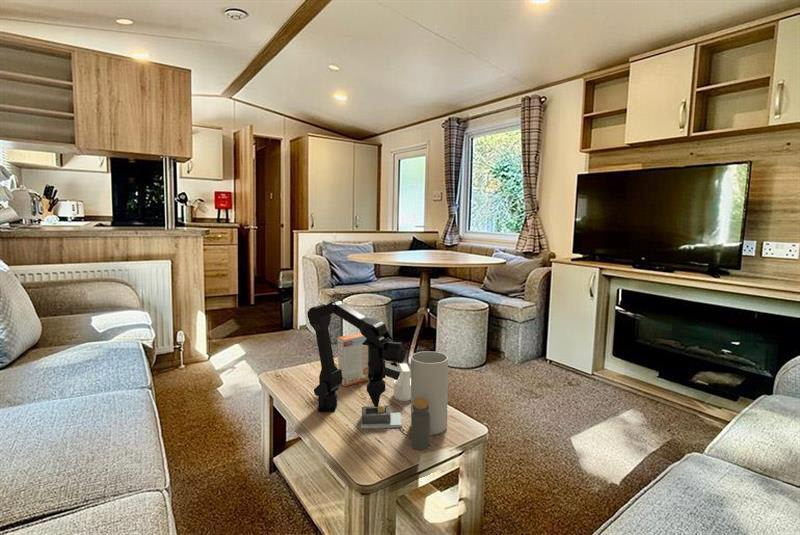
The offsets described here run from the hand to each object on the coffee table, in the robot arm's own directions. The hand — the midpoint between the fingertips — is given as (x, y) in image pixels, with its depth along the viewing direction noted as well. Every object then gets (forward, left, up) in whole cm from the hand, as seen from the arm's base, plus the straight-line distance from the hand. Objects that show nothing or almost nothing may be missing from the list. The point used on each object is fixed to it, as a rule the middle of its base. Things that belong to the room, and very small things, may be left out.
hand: (376, 400), depth 151 cm
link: (0, 0, -6) cm, 7 cm away
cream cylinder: (+11, +22, -8) cm, 26 cm away
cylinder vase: (+18, -4, -8) cm, 20 cm away
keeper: (+2, 0, -8) cm, 8 cm away
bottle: (+14, -16, -8) cm, 23 cm away
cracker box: (-10, +38, -8) cm, 40 cm away
